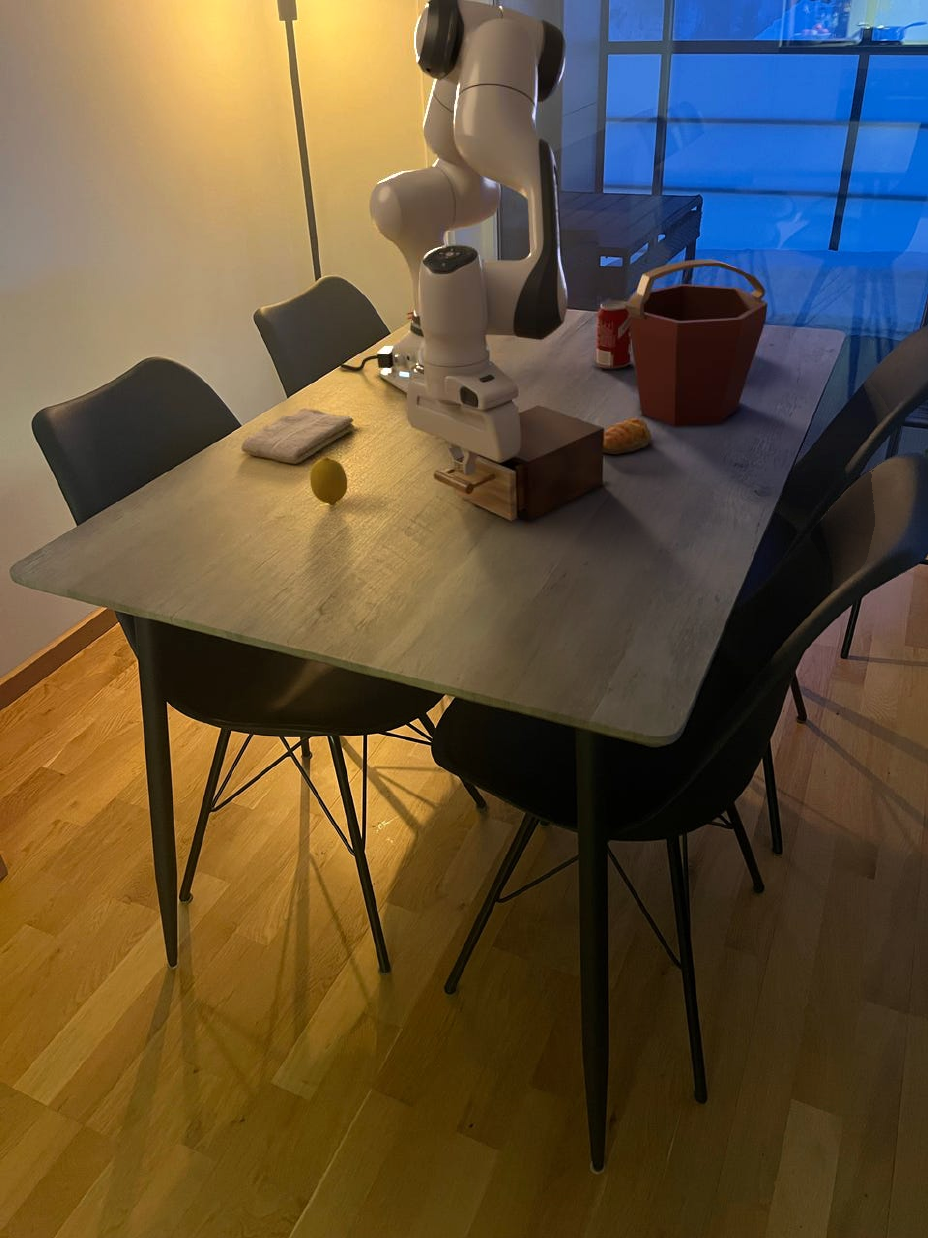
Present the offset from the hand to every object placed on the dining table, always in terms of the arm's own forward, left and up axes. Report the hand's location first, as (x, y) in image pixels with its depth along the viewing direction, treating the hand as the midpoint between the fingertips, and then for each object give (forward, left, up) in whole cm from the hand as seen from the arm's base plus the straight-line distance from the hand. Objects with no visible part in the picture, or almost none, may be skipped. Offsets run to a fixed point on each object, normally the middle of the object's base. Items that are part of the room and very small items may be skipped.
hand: (463, 471), depth 134 cm
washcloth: (-43, -1, -8) cm, 44 cm away
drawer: (0, +8, -7) cm, 10 cm away
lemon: (-19, -11, -8) cm, 23 cm away
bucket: (-3, +55, -8) cm, 56 cm away
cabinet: (0, +14, -8) cm, 16 cm away
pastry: (0, +35, -8) cm, 36 cm away
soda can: (-27, +63, -8) cm, 69 cm away
